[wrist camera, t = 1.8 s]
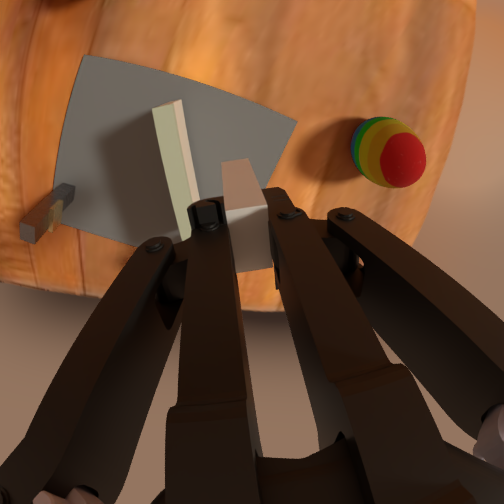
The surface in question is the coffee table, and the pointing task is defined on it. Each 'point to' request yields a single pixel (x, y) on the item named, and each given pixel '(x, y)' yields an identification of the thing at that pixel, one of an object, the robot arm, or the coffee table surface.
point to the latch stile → (46, 213)
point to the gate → (176, 161)
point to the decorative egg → (388, 152)
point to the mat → (152, 147)
